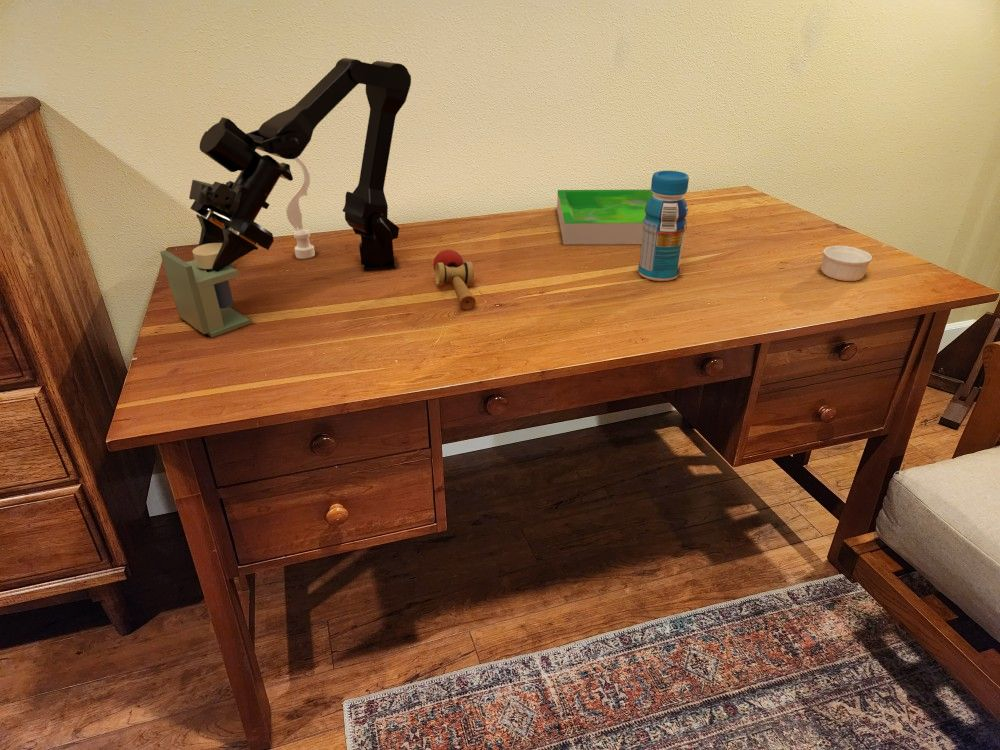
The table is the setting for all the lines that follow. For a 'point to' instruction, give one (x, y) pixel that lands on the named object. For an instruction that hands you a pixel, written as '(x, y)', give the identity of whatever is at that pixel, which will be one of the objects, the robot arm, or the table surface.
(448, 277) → the kendama
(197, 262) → the peg
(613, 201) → the tray
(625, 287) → the table surface
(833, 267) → the ramekin
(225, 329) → the stand
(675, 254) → the beverage bottle
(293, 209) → the decorative finial
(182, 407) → the table surface
